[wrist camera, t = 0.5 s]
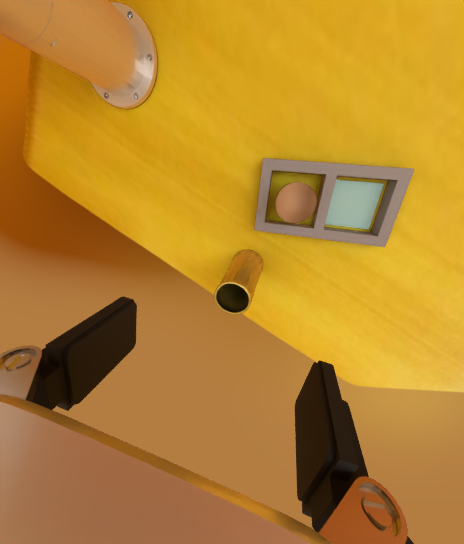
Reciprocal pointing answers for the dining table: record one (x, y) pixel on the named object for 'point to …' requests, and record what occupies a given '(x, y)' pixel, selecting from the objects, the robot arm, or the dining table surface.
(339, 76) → the dining table surface
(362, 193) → the slot rack
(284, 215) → the walnut peg
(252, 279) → the vase
